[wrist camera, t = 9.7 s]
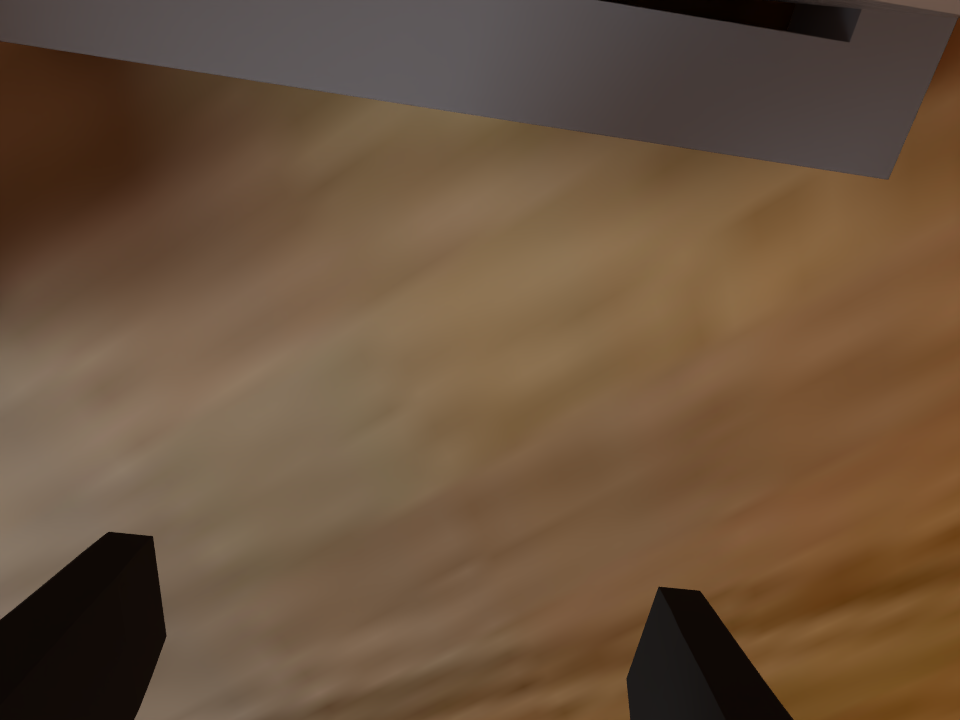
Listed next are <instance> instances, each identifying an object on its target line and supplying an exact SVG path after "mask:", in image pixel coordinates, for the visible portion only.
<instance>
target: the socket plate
mask: <svg viewBox="0 0 960 720" xmlns="http://www.w3.org/2000/svg"><path fill="white" fill-rule="evenodd" d="M957 19H958V17H946V16H935V15H924V14H912V13H901V12H890V11H878V10H867V9H856V8H844V7H833V6H822V5H811V4H799V3H796V4H795V7H794V11H793V14H792V17H791V20H790V23H789V26H788V29H787V31H785V30H779V29H773V28H767V27H761V26H755V25H749V24H743V23H737V22H731V21H725V20H719V19H713V18H707V17H701V16H695V15H689V14H683V13H677V12H671V11H665V10H659V9H653V8H647V7H641V6H635V5H629V4H623V3H617V2H612V1H606V0H0V41H3V42H9V43H16V44H22V45H29V46H35V47H41V48H48V49H54V50H61V51H67V52H73V53H80V54H86V55H93V56H99V57H105V58H112V59H118V60H125V61H131V62H138V63H144V64H150V65H157V66H163V67H170V68H176V69H182V70H189V71H195V72H202V73H208V74H214V75H221V76H227V77H234V78H240V79H246V80H253V81H259V82H266V83H272V84H278V85H285V86H291V87H298V88H304V89H310V90H317V91H323V92H330V93H336V94H343V95H349V96H355V97H362V98H368V99H375V100H381V101H387V102H394V103H400V104H407V105H413V106H419V107H426V108H432V109H439V110H445V111H451V112H458V113H464V114H471V115H477V116H483V117H490V118H496V119H503V120H509V121H515V122H522V123H528V124H535V125H541V126H548V127H554V128H560V129H567V130H573V131H580V132H586V133H592V134H599V135H605V136H612V137H618V138H624V139H631V140H637V141H644V142H650V143H656V144H663V145H669V146H676V147H682V148H688V149H695V150H701V151H708V152H714V153H720V154H727V155H733V156H740V157H746V158H753V159H759V160H765V161H772V162H778V163H785V164H791V165H797V166H804V167H810V168H817V169H823V170H829V171H836V172H842V173H849V174H855V175H861V176H868V177H874V178H881V179H887V180H888V179H889V177H890V175H891V172H892V170H893V168H894V165H895V163H896V161H897V158H898V156H899V154H900V151H901V149H902V147H903V144H904V142H905V140H906V137H907V135H908V133H909V131H910V128H911V126H912V124H913V121H914V119H915V117H916V114H917V112H918V110H919V107H920V105H921V103H922V100H923V98H924V96H925V93H926V91H927V89H928V87H929V84H930V82H931V80H932V77H933V75H934V73H935V70H936V68H937V66H938V63H939V61H940V59H941V56H942V54H943V52H944V49H945V47H946V45H947V42H948V40H949V38H950V36H951V33H952V31H953V29H954V26H955V24H956V22H957Z"/></svg>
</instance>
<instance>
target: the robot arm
mask: <svg viewBox="0 0 960 720" xmlns="http://www.w3.org/2000/svg"><path fill="white" fill-rule="evenodd" d="M165 639H166V629H165V622H164V615H163V607H162V600H161V592H160V585H159V578H158V570H157V563H156V556H155V548H154V541H153V536H145V535H135V534H125V533H115V532H108V533H106V534H105V535H104V536H102V537H101V538H100V539H98V540H97V541H96V542H95V543H94V544H92V545H91V546H90V547H89V548H87V549H86V550H85V551H84V552H82V553H81V554H80V555H79V556H78V557H76V558H75V559H74V560H73V561H71V562H70V563H69V564H68V565H67V566H65V567H64V568H63V569H62V570H61V571H59V572H58V573H57V574H56V575H55V576H53V577H52V578H51V579H50V580H48V581H47V582H46V583H45V584H44V585H42V586H41V587H40V588H39V589H38V590H36V591H35V592H34V593H33V594H31V595H30V596H29V597H28V598H27V599H25V600H24V601H23V602H22V603H20V604H19V605H18V606H17V607H16V608H14V609H13V610H12V611H11V612H9V613H8V614H7V615H6V616H4V617H3V618H2V619H1V620H0V720H134V719H135V717H136V715H137V712H138V710H139V708H140V706H141V703H142V700H143V698H144V695H145V693H146V690H147V688H148V685H149V682H150V680H151V677H152V675H153V672H154V669H155V666H156V664H157V661H158V658H159V655H160V653H161V650H162V647H163V644H164V642H165ZM627 689H628V699H629V710H630V720H793V718H792V717H791V716H790V714H789V713H788V712H787V711H786V709H785V708H784V707H783V705H782V704H781V703H780V701H779V700H778V699H777V697H776V696H775V695H774V693H773V692H772V690H771V689H770V688H769V686H768V685H767V684H766V682H765V681H764V680H763V678H762V677H761V675H760V674H759V673H758V671H757V670H756V668H755V667H754V666H753V664H752V663H751V662H750V660H749V659H748V657H747V656H746V655H745V653H744V652H743V650H742V649H741V648H740V646H739V645H738V643H737V642H736V640H735V639H734V638H733V636H732V635H731V633H730V632H729V631H728V629H727V628H726V626H725V625H724V624H723V622H722V621H721V619H720V618H719V616H718V615H717V614H716V612H715V611H714V609H713V608H712V607H711V605H710V604H709V602H708V601H707V600H706V598H705V597H704V596H703V594H702V593H701V592H700V591H697V590H687V589H677V588H667V587H658V590H657V593H656V596H655V599H654V602H653V604H652V607H651V610H650V613H649V616H648V619H647V622H646V624H645V627H644V630H643V633H642V636H641V639H640V642H639V644H638V647H637V650H636V653H635V656H634V659H633V662H632V665H631V667H630V670H629V673H628V676H627Z"/></svg>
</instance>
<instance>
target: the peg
mask: <svg viewBox="0 0 960 720" xmlns="http://www.w3.org/2000/svg"><path fill="white" fill-rule="evenodd" d="M765 1H777V2H788V3H799V4H811V5H822V6H833V7H844V8H856V9H867V10H878V11H890V12H901V13H912V14H924V15H935V16H946V17H958V18H960V0H765Z"/></svg>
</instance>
